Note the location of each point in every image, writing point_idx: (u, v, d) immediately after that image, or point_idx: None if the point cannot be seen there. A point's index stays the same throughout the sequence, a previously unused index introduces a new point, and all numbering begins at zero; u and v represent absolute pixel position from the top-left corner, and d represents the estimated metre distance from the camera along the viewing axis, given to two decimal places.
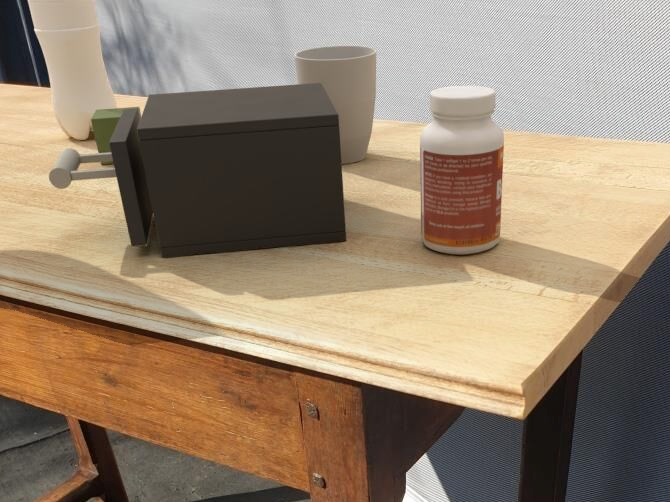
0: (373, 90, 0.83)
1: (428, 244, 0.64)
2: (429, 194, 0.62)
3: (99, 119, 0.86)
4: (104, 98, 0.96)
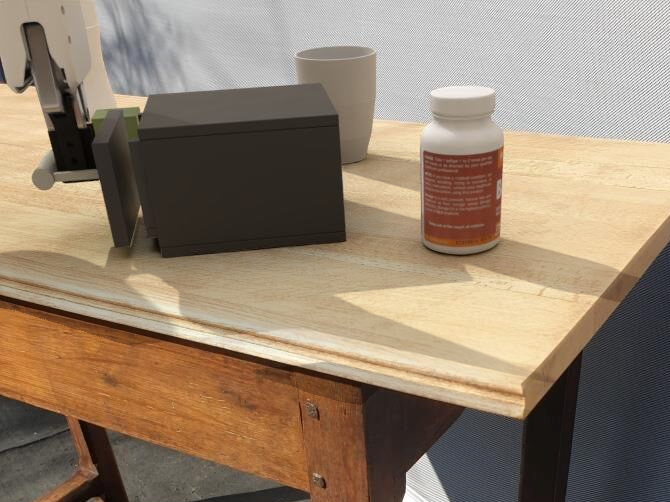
0: (373, 90, 0.83)
1: (428, 244, 0.64)
2: (429, 194, 0.62)
3: (99, 119, 0.86)
4: (104, 98, 0.96)
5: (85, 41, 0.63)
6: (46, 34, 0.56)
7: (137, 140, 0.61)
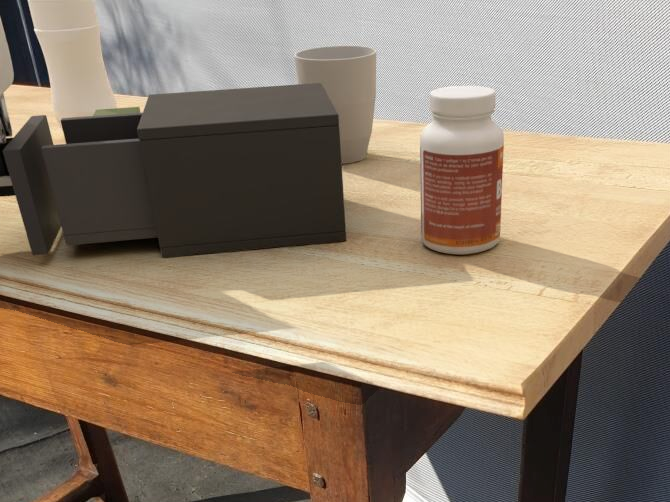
0: (373, 90, 0.83)
1: (428, 244, 0.64)
2: (429, 194, 0.62)
3: None
4: (104, 98, 0.96)
5: (4, 56, 0.63)
6: None
7: (51, 146, 0.61)
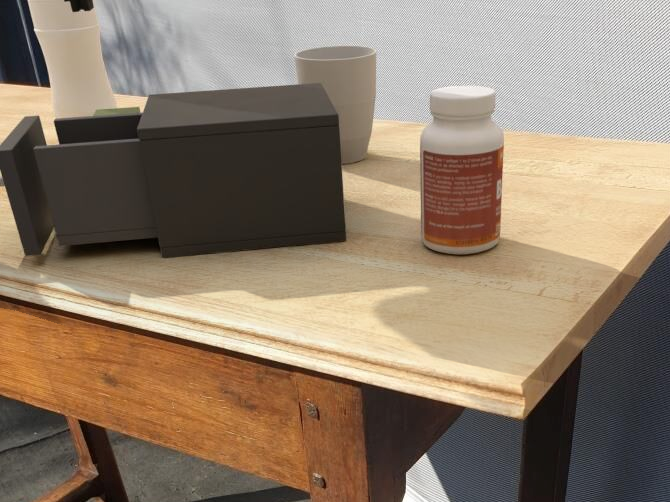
0: (373, 90, 0.83)
1: (428, 244, 0.64)
2: (429, 194, 0.62)
3: None
4: (104, 98, 0.96)
5: None
6: None
7: (43, 147, 0.61)
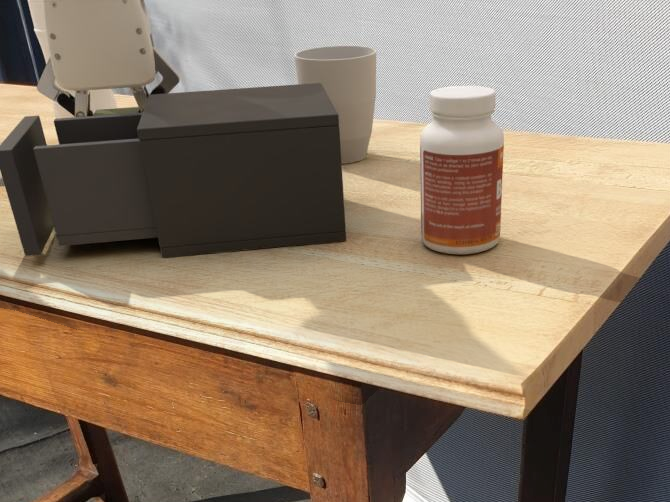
0: (373, 90, 0.83)
1: (428, 244, 0.64)
2: (429, 194, 0.62)
3: None
4: (104, 98, 0.96)
5: (119, 62, 0.83)
6: None
7: (43, 147, 0.61)
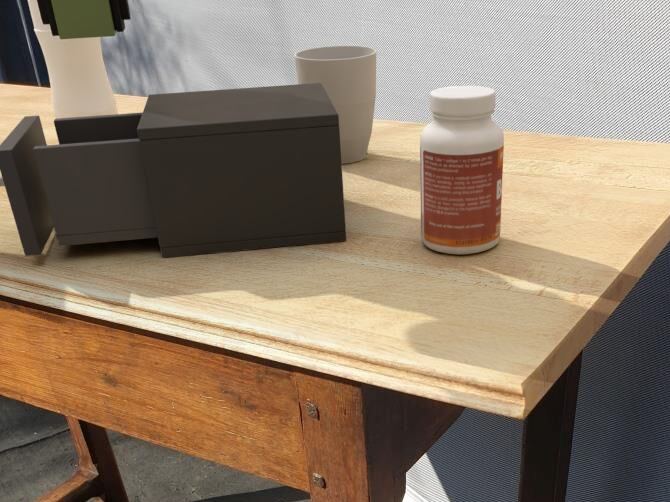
0: (373, 90, 0.83)
1: (428, 244, 0.64)
2: (429, 194, 0.62)
3: None
4: (104, 98, 0.96)
5: None
6: None
7: (43, 147, 0.61)
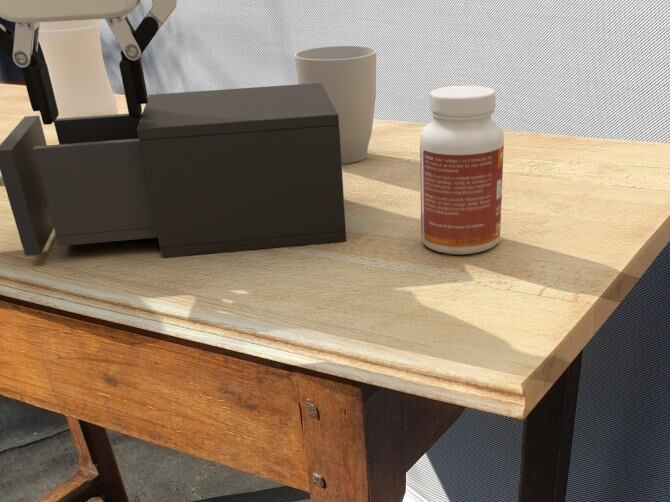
0: (373, 90, 0.83)
1: (428, 244, 0.64)
2: (429, 194, 0.62)
3: None
4: (104, 98, 0.96)
5: None
6: None
7: (43, 147, 0.61)
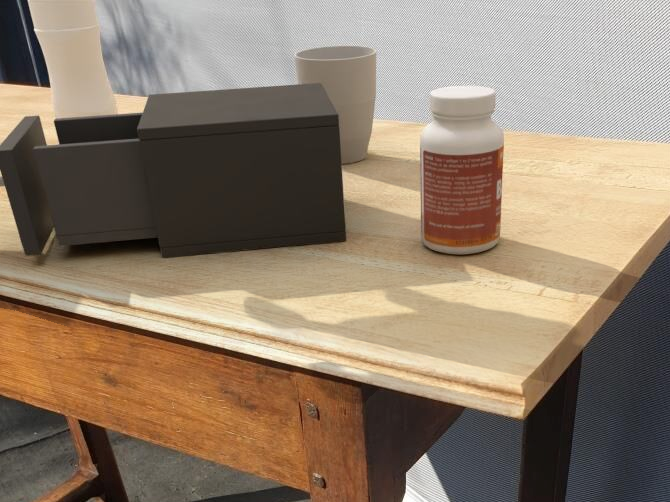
0: (373, 90, 0.83)
1: (428, 244, 0.64)
2: (429, 194, 0.62)
3: None
4: (104, 98, 0.96)
5: None
6: None
7: (43, 147, 0.61)
